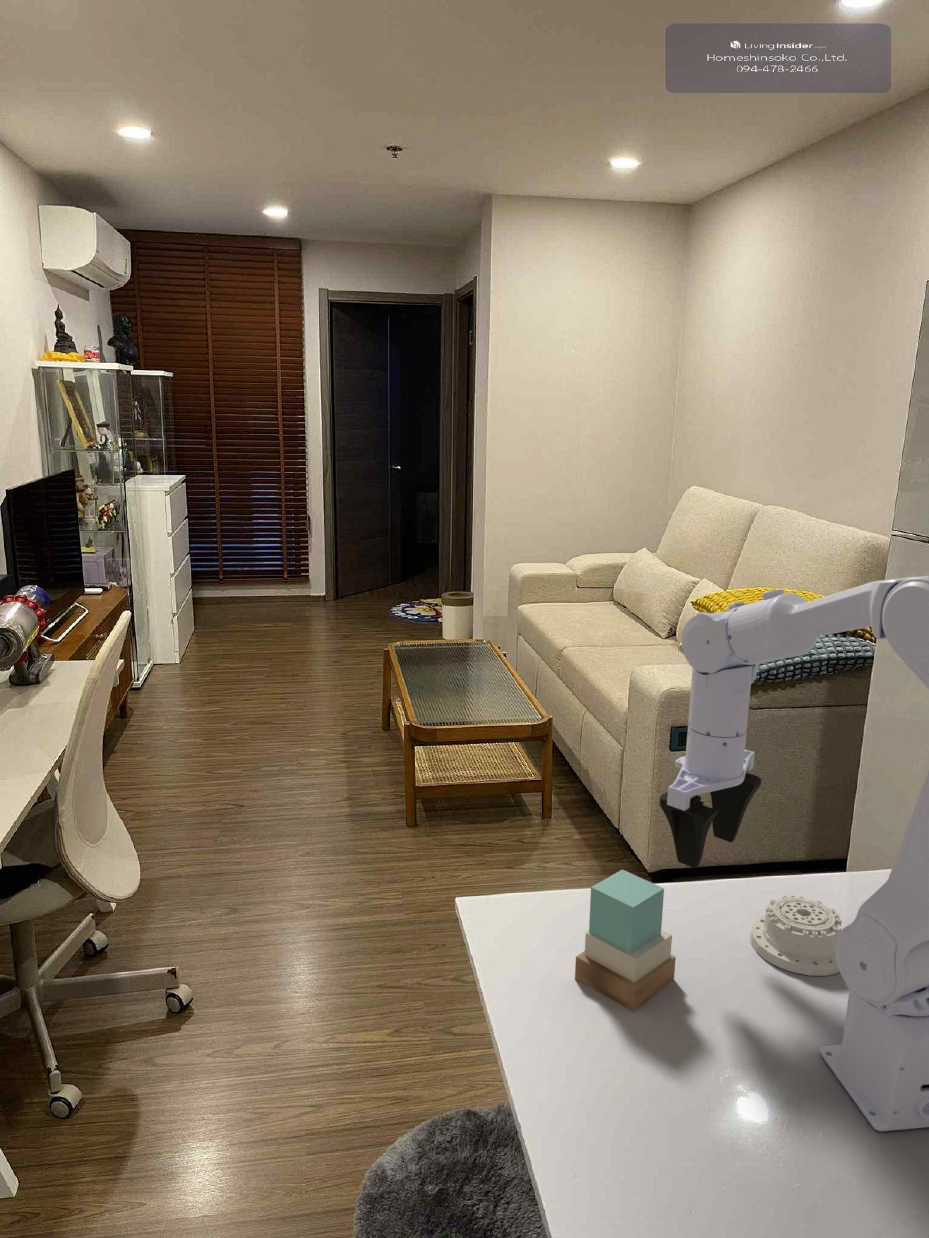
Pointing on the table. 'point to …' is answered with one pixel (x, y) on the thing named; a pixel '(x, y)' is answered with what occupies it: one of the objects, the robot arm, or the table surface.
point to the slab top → (625, 963)
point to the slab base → (623, 981)
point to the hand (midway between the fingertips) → (706, 850)
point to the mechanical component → (798, 936)
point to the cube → (626, 911)
